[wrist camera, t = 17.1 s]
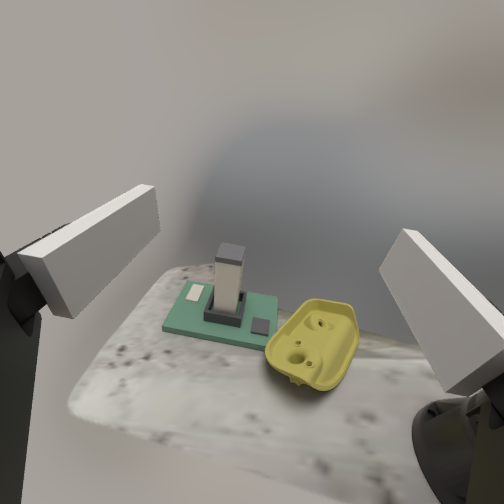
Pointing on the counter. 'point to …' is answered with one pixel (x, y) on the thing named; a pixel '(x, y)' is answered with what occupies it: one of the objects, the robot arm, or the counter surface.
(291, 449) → the counter surface
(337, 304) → the plastic component
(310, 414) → the counter surface
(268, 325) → the board
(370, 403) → the counter surface
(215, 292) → the plug
